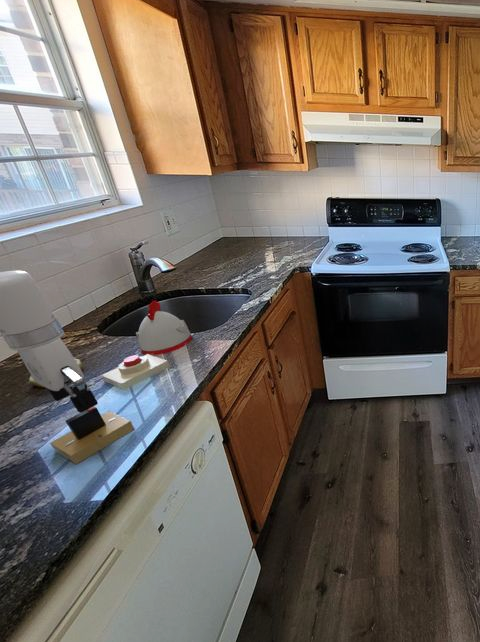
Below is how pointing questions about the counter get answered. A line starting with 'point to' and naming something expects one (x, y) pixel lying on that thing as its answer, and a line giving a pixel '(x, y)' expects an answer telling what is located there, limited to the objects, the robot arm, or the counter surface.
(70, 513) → the counter surface
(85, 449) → the plate
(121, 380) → the block
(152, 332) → the kitchen timer
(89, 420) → the lock knob
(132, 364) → the bell button
